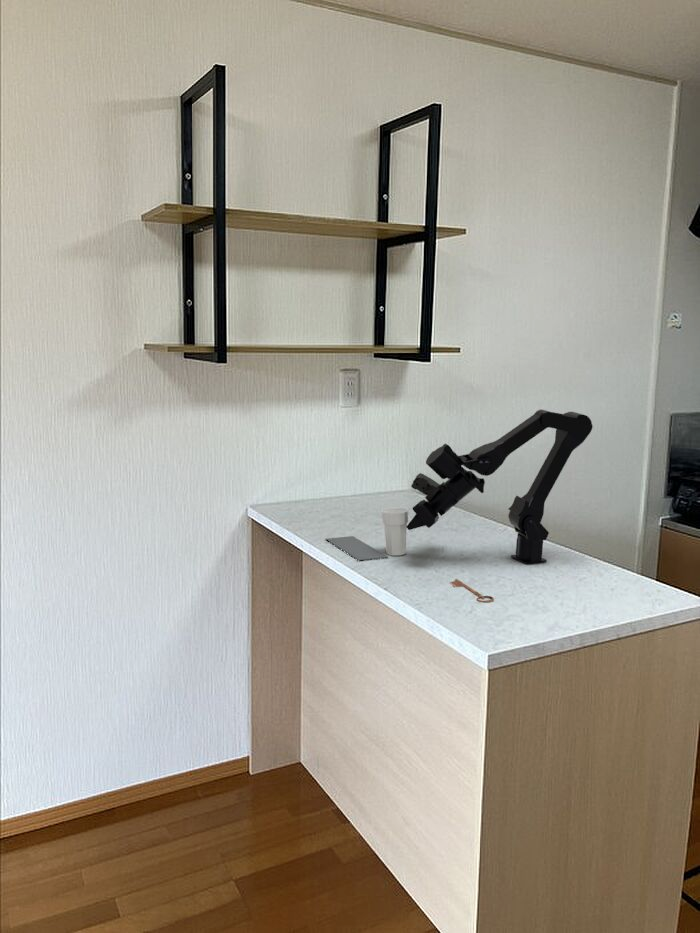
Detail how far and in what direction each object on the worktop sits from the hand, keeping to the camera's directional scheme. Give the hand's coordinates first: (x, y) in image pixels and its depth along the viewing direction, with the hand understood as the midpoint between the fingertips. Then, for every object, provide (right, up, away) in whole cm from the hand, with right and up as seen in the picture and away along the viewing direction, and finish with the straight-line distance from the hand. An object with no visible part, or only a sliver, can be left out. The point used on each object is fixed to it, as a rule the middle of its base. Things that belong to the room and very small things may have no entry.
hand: (407, 528), depth 207 cm
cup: (-3, -7, +2) cm, 7 cm away
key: (+11, -13, -25) cm, 30 cm away
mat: (-13, -6, +5) cm, 15 cm away
